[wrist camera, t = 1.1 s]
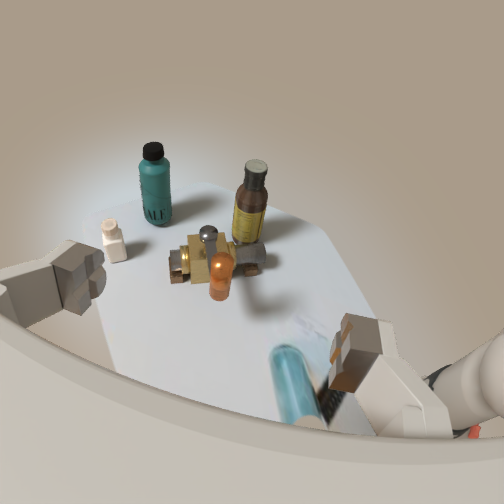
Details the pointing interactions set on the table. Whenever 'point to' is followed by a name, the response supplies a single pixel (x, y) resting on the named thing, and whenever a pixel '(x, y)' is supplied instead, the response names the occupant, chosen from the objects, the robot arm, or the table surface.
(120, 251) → the pepper shaker
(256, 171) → the sauce bottle
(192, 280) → the ball valve
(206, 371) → the table surface
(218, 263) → the crank handle
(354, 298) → the table surface
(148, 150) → the beverage bottle
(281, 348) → the table surface
